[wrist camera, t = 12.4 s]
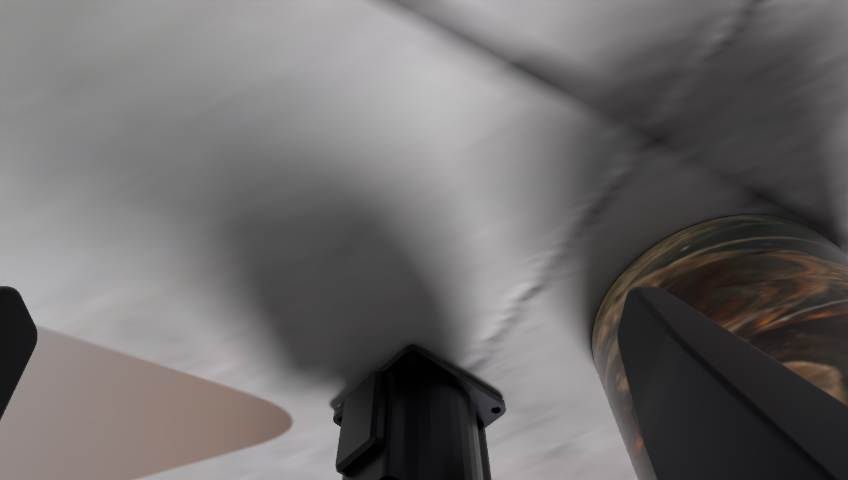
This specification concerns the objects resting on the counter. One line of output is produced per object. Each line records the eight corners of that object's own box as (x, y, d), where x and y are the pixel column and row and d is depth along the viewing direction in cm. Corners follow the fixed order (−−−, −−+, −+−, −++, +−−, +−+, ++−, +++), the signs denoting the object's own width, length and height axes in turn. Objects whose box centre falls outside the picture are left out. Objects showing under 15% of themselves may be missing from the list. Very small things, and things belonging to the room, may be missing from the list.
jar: (888, 323, 26) (1356, 741, 13) (671, 440, 30) (860, 840, 17) (771, 159, 21) (1312, 552, 8) (536, 324, 25) (655, 750, 13)
